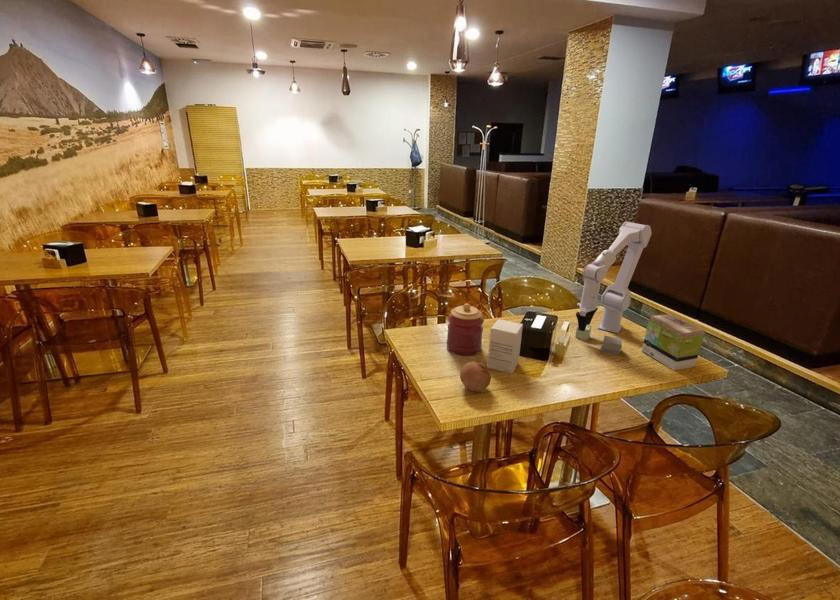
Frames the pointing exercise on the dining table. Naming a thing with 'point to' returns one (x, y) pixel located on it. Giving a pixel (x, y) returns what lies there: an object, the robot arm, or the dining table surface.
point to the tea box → (673, 341)
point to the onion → (475, 376)
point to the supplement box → (504, 346)
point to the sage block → (583, 333)
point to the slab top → (612, 343)
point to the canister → (465, 330)
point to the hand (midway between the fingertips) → (584, 327)
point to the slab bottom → (610, 351)
